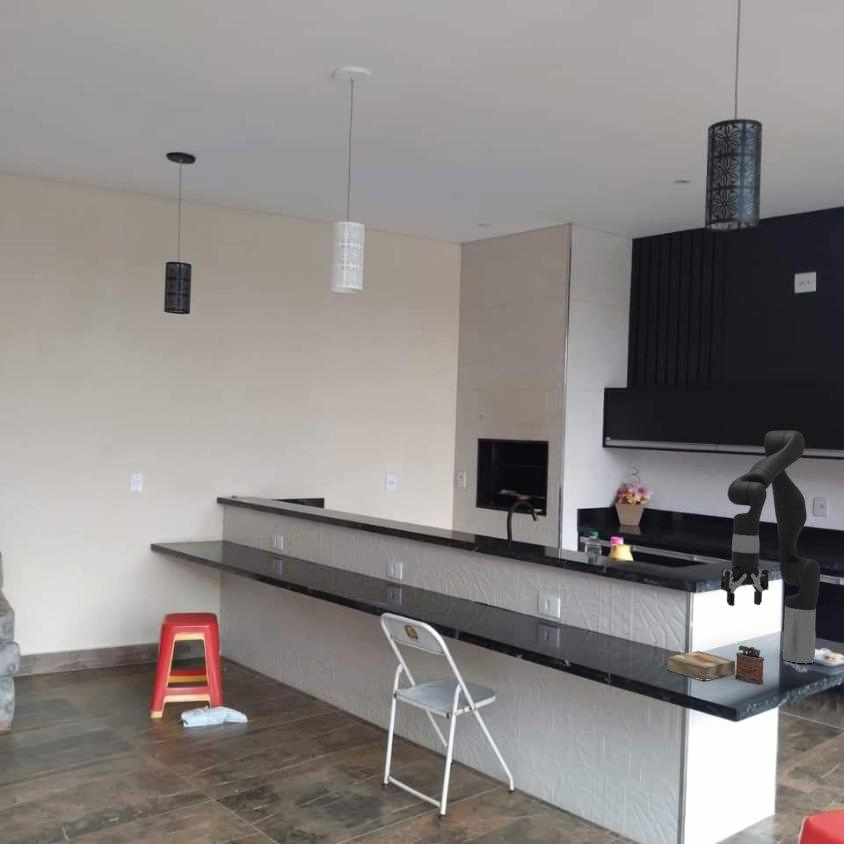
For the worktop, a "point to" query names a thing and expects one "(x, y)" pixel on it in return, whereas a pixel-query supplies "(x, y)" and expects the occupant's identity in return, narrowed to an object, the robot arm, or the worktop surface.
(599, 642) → the worktop surface
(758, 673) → the lighter
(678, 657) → the dock
